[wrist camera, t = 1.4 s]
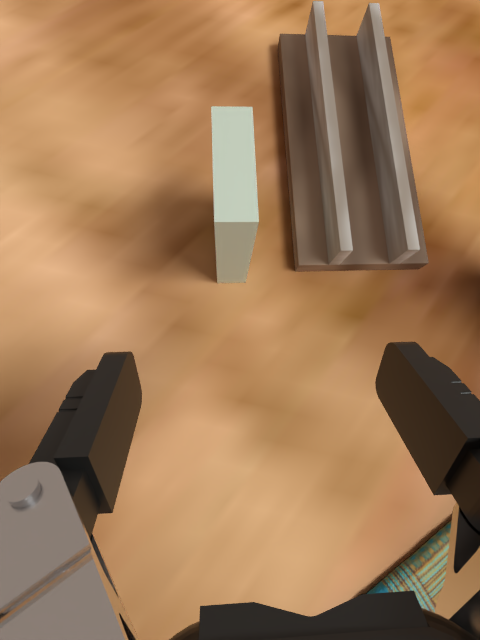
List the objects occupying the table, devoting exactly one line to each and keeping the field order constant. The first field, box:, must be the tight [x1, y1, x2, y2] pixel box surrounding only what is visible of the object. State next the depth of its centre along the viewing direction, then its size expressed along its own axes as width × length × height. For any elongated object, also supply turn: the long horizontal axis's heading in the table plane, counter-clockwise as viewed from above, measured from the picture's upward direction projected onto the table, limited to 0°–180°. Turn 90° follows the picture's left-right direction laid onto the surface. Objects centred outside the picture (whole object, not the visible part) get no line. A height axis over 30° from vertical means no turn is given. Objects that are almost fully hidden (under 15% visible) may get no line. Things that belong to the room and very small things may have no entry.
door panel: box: [211, 106, 259, 283], centre depth 25 cm, size 3×8×11 cm, turn 2°
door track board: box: [278, 1, 429, 271], centre depth 31 cm, size 12×26×4 cm, turn 2°
